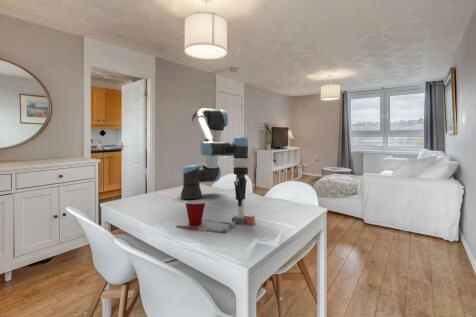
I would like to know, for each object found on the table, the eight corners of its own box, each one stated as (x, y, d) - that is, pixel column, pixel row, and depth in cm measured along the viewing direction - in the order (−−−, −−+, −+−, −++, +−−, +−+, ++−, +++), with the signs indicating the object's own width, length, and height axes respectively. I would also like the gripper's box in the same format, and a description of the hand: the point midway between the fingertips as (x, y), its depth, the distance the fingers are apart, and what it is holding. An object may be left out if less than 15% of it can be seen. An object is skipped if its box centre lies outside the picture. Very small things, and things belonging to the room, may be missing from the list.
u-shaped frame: (192, 220, 132) (192, 216, 132) (236, 224, 123) (236, 220, 123) (176, 227, 118) (176, 223, 118) (224, 233, 109) (224, 228, 109)
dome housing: (236, 220, 132) (236, 213, 132) (256, 222, 128) (256, 215, 128) (231, 223, 125) (231, 216, 125) (252, 225, 121) (252, 218, 121)
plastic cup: (209, 222, 126) (209, 199, 126) (200, 228, 116) (200, 203, 116) (191, 221, 130) (191, 198, 130) (180, 226, 120) (180, 202, 120)
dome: (237, 220, 130) (237, 211, 130) (246, 221, 128) (246, 211, 128) (234, 222, 126) (234, 213, 126) (243, 223, 124) (243, 213, 124)
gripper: (238, 166, 134) (238, 209, 134) (229, 167, 122) (229, 214, 122) (251, 166, 132) (251, 210, 132) (243, 167, 120) (243, 215, 120)
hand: (240, 212), depth 127 cm, fingers closed
